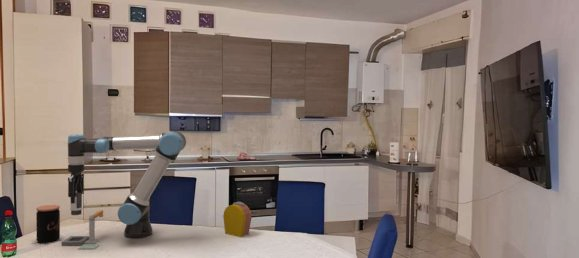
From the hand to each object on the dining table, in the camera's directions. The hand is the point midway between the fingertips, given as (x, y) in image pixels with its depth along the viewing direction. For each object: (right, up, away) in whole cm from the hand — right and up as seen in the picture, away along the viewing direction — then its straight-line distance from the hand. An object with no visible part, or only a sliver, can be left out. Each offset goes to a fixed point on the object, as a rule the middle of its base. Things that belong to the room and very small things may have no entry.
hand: (76, 207), depth 206 cm
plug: (0, -3, 0) cm, 3 cm away
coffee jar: (-17, -18, +3) cm, 25 cm away
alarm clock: (+82, -20, +22) cm, 87 cm away
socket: (+2, -19, +1) cm, 19 cm away
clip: (+7, -8, +7) cm, 13 cm away
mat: (+10, -19, -6) cm, 22 cm away
